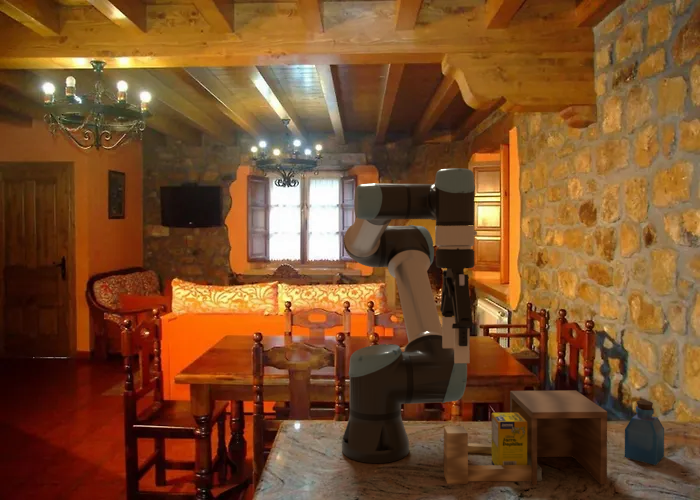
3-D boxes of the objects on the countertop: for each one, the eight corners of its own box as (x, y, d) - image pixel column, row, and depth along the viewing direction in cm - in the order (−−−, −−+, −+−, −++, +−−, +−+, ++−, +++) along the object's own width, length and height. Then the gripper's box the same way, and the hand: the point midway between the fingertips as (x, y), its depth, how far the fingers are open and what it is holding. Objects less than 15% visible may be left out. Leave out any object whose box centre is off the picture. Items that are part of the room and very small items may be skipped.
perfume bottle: (624, 457, 122) (625, 402, 122) (633, 449, 126) (633, 396, 126) (656, 465, 118) (656, 408, 117) (664, 456, 122) (664, 402, 122)
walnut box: (532, 484, 109) (532, 412, 108) (510, 454, 124) (510, 390, 123) (606, 484, 109) (607, 411, 108) (575, 454, 124) (575, 390, 123)
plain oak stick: (458, 453, 126) (458, 445, 126) (458, 450, 127) (458, 442, 127) (513, 456, 124) (513, 448, 124) (512, 453, 125) (512, 445, 125)
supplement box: (528, 474, 113) (528, 421, 113) (498, 475, 113) (498, 421, 113) (519, 462, 119) (519, 411, 119) (491, 463, 119) (490, 412, 119)
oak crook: (447, 484, 109) (447, 433, 109) (437, 459, 121) (437, 413, 121) (543, 483, 109) (543, 432, 109) (524, 458, 121) (524, 413, 121)
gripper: (489, 249, 98) (489, 370, 99) (461, 246, 123) (461, 342, 123) (446, 249, 98) (446, 370, 99) (427, 246, 123) (427, 342, 123)
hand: (455, 355), depth 111 cm, fingers open, 13 cm apart
